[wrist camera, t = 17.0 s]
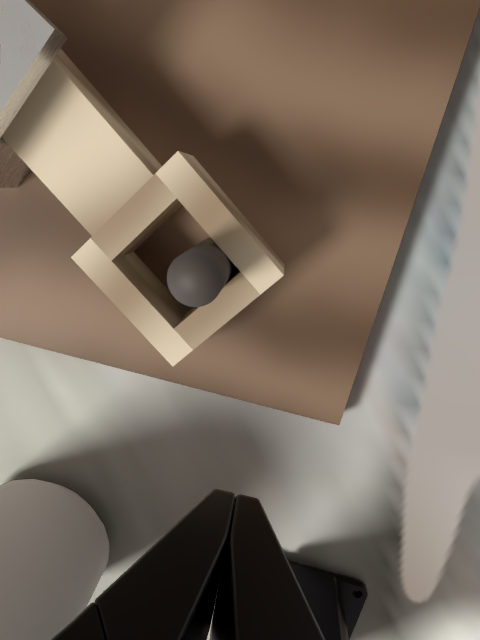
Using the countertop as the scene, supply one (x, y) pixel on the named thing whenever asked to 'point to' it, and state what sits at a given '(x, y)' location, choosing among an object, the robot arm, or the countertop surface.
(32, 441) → the countertop surface
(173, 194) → the link
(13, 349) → the countertop surface
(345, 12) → the base board
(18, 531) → the can
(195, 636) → the robot arm
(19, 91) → the keeper
